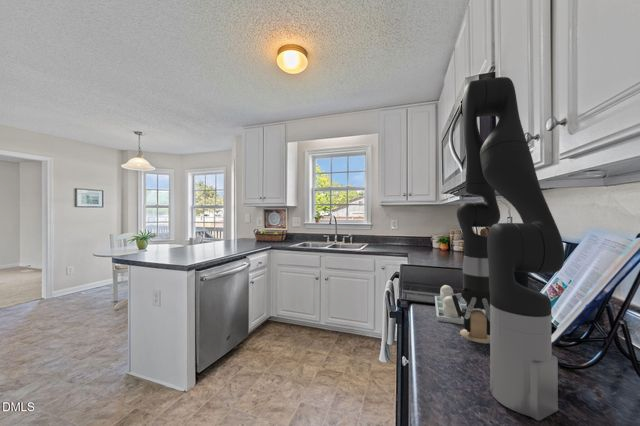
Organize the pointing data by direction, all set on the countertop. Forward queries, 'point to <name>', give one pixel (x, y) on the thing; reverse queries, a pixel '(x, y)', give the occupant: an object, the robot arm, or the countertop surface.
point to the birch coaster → (466, 335)
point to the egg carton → (449, 319)
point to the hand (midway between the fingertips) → (478, 332)
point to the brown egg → (478, 324)
